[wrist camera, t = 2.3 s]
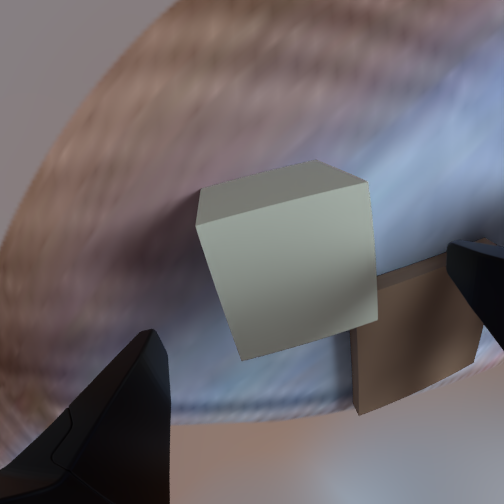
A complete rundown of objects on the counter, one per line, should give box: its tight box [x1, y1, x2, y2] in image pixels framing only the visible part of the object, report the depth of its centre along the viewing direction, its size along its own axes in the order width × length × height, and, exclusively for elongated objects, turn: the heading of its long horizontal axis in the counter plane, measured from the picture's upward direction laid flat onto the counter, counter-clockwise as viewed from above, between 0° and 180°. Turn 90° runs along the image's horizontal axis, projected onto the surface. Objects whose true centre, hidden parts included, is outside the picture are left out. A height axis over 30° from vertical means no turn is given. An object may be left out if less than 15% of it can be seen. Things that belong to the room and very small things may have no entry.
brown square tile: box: [350, 238, 497, 415], centre depth 17 cm, size 10×10×1 cm
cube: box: [195, 160, 378, 361], centre depth 12 cm, size 5×5×5 cm
